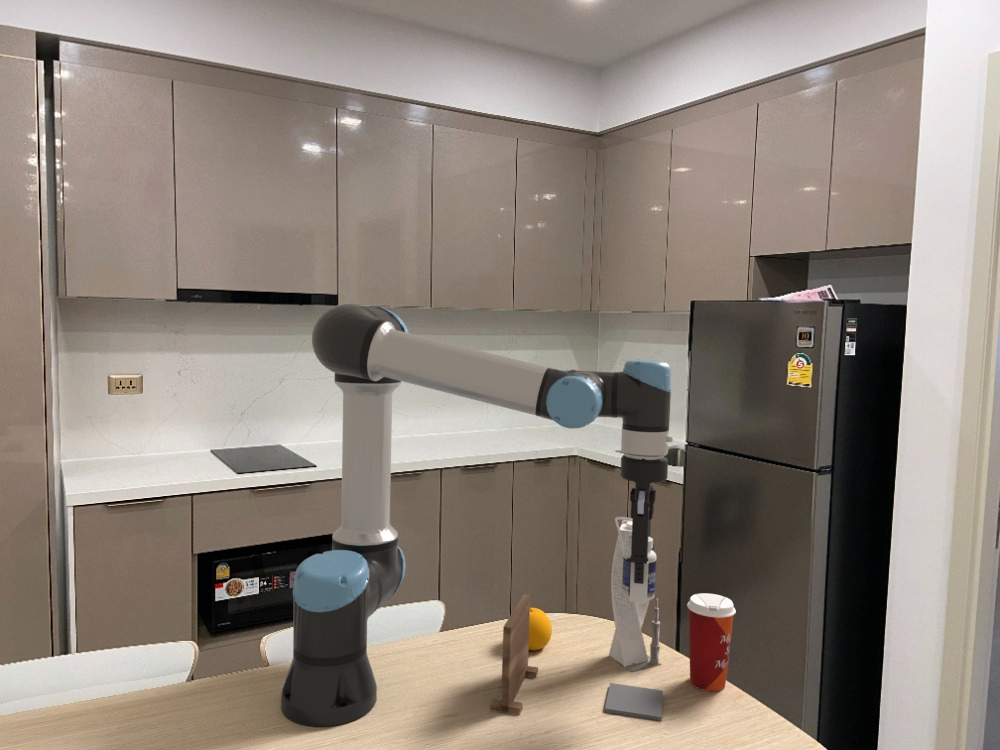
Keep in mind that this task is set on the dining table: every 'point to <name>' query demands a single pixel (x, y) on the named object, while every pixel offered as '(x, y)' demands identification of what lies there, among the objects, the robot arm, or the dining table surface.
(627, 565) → the pill bottle
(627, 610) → the skyscraper
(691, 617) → the coffee cup
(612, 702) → the coaster
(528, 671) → the screen
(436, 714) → the dining table surface
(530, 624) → the orange
